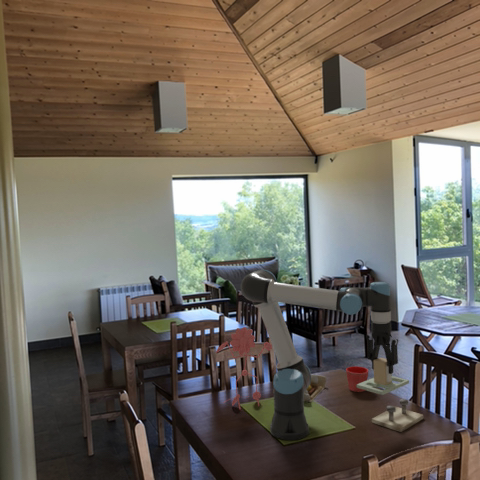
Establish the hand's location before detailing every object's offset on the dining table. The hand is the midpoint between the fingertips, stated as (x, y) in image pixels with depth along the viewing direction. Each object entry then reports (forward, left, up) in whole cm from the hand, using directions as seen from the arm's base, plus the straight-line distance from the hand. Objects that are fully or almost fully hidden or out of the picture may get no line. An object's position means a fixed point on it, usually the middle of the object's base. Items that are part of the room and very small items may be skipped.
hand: (382, 379), depth 195 cm
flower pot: (-32, +29, -20) cm, 47 cm away
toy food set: (-49, +7, -20) cm, 54 cm away
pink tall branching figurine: (-59, -21, -20) cm, 66 cm away
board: (+1, +10, -19) cm, 22 cm away
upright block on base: (0, 0, -2) cm, 2 cm away
